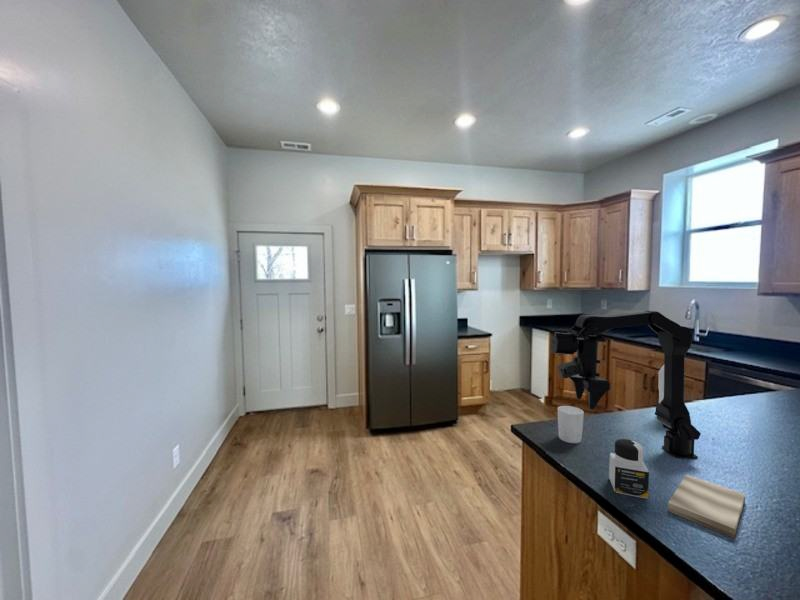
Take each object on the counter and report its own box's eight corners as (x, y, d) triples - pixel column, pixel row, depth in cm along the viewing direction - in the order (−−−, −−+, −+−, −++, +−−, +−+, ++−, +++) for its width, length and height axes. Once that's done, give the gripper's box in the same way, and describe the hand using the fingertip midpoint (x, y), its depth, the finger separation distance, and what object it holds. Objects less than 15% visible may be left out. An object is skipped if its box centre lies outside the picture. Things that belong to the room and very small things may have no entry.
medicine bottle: (614, 492, 85) (615, 446, 84) (608, 477, 92) (610, 434, 91) (648, 499, 82) (650, 451, 82) (640, 483, 89) (641, 438, 88)
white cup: (586, 445, 110) (587, 415, 110) (560, 443, 112) (560, 413, 111) (578, 434, 118) (579, 406, 117) (554, 433, 119) (555, 405, 119)
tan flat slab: (685, 481, 90) (686, 474, 89) (745, 502, 81) (745, 494, 81) (667, 511, 78) (668, 502, 78) (734, 538, 70) (734, 528, 70)
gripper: (550, 348, 117) (548, 393, 117) (572, 360, 98) (569, 413, 99) (584, 349, 115) (582, 394, 116) (613, 362, 97) (610, 415, 98)
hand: (584, 403), depth 107 cm, fingers open, 9 cm apart
